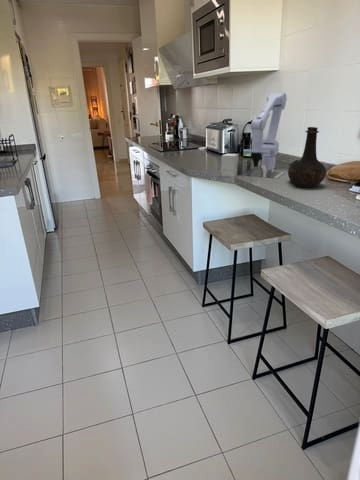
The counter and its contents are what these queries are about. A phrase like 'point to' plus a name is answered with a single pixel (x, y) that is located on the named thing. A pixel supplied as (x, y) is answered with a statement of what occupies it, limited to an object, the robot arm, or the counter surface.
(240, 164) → the post left
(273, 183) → the counter surface
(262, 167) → the paddle
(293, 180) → the glass bottle
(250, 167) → the post right
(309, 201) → the counter surface
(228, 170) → the supplement box
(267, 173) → the panel
